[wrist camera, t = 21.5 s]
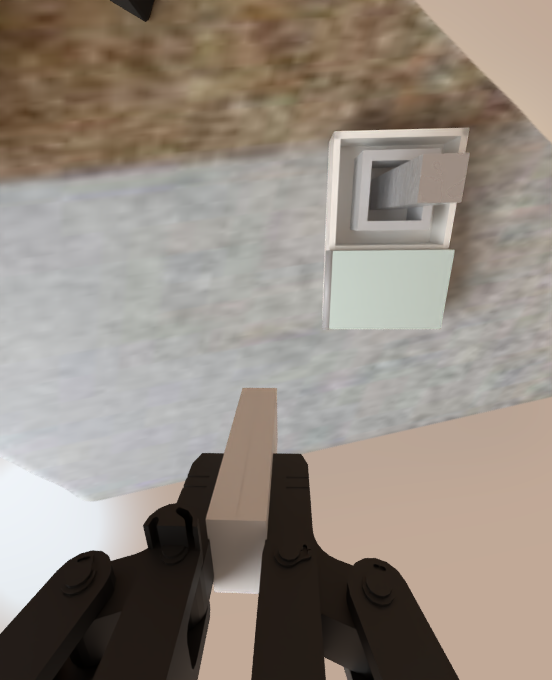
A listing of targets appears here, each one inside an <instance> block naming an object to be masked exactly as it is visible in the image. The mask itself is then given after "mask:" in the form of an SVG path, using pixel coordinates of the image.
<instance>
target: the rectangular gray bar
mask: <svg viewBox="0 0 552 680" xmlns="http://www.w3.org/2000/svg"><path fill="white" fill-rule="evenodd" d="M469 156H470V152H469V153H433V154H422V155H420V156H418V157H416V158H414V159H412V160H410V161H408V162H406V163H404V164H402V165H400V166H398V167H396V168H394V169H392V170H390V171H388V172H386V173H384V174H382V175H380V176H378V177H376V178H374V179H372V183H371V195H370V208H369V210H389V209H404V208H414V207H423V206H432V205H441V204H450V203H460V202H462V196H463V190H464V185H465V179H466V173H467V167H468V162H469Z"/></svg>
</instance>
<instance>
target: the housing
mask: <svg viewBox="0 0 552 680" xmlns="http://www.w3.org/2000/svg"><path fill="white" fill-rule="evenodd" d="M468 134H469V128H438V129H400V130H362V131H334V133H333V135H332V137H331V139H330V141H329V154H328V180H327V205H326V230H325V252H326V250H420V249H449V245H450V239H451V233H452V227H453V221H454V215H455V210H456V204H457V203H450V204H441V205H432V206H423V207H414V208H404V209H389V210H369V208H370V195H371V183H372V179H374V178H376V177H378V176H380V175H382V174H384V173H386V172H388V171H390V170H392V169H394V168H396V167H398V166H400V165H402V164H404V163H406V162H408V161H410V160H412V159H414V158H416V157H418V156H420V155H422V154H433V153H465V152H466V146H467V140H468ZM324 277H325V256H324ZM323 302H324V281H323ZM322 318H323V307H322Z"/></svg>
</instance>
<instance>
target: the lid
mask: <svg viewBox="0 0 552 680" xmlns="http://www.w3.org/2000/svg"><path fill="white" fill-rule="evenodd" d="M454 252H455V250H453V249H420V250H326V252H325V277H324V302H323V326H322V328H323V329H441V325H442V319H443V313H444V308H445V302H446V297H447V291H448V285H449V280H450V274H451V269H452V263H453V257H454Z"/></svg>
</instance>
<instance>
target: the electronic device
mask: <svg viewBox="0 0 552 680" xmlns="http://www.w3.org/2000/svg"><path fill="white" fill-rule="evenodd" d="M110 1H112V2H113V3H115V4H117V5H118V6H120V7H122V8H123V9H125V10H127V11H128V12H130V13H132V14H133V15H135V16H137V17H138V18H140V19H142V20H143V21H145V22H146V21H147V20H148V19H149V17H150V13H151V10H152V6H153V3H154V0H110Z"/></svg>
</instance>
